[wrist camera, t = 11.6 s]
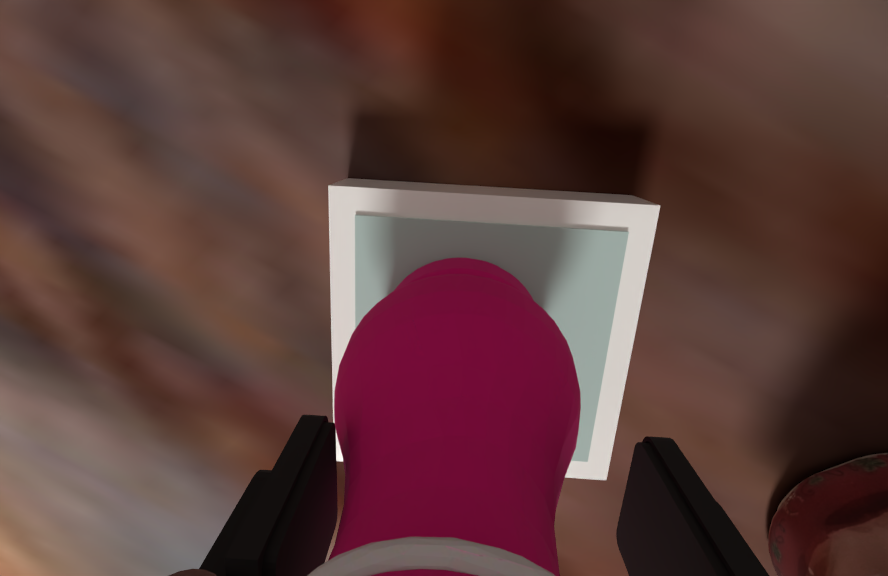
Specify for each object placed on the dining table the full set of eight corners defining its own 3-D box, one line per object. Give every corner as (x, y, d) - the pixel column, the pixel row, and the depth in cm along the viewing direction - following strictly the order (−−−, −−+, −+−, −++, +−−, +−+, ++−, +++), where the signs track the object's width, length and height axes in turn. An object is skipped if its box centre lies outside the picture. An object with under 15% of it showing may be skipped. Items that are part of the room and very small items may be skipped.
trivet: (589, 438, 24) (607, 482, 21) (349, 421, 24) (333, 463, 21) (631, 194, 20) (662, 206, 17) (347, 178, 20) (327, 185, 17)
